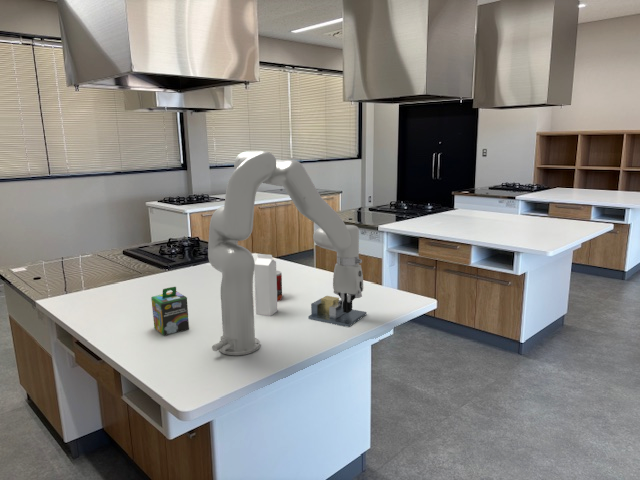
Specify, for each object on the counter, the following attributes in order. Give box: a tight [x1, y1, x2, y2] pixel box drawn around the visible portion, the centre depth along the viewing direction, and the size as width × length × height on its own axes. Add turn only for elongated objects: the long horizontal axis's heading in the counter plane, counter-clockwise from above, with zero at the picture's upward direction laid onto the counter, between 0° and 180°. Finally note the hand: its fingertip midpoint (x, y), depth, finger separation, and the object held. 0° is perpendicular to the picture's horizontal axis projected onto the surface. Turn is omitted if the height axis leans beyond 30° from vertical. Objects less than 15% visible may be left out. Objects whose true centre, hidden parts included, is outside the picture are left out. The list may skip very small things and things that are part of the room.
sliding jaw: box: [329, 299, 346, 319], centre depth 166 cm, size 10×2×5 cm, turn 149°
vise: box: [308, 297, 367, 327], centre depth 167 cm, size 14×16×5 cm
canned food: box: [276, 269, 283, 302], centre depth 187 cm, size 8×8×11 cm
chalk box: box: [150, 286, 190, 337], centre depth 156 cm, size 9×9×15 cm
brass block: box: [320, 295, 340, 315], centre depth 168 cm, size 4×5×6 cm
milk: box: [253, 253, 278, 317], centre depth 170 cm, size 6×6×22 cm
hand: (347, 311), depth 164 cm, fingers closed
